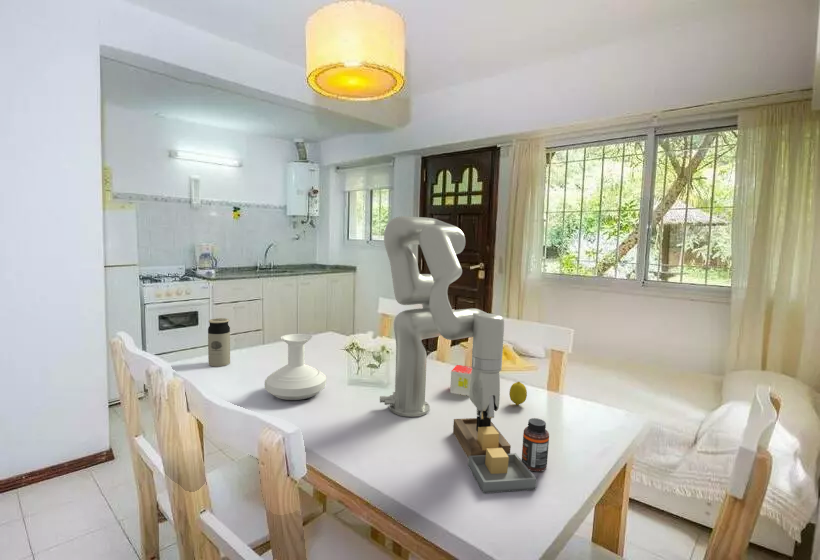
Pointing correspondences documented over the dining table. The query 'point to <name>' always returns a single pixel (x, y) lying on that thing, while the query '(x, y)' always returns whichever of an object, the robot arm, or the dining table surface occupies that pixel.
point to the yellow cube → (487, 437)
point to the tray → (502, 475)
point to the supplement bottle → (535, 445)
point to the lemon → (518, 393)
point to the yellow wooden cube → (496, 460)
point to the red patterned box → (460, 380)
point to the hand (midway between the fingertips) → (483, 432)
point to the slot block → (474, 437)
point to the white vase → (295, 373)
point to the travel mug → (218, 342)
